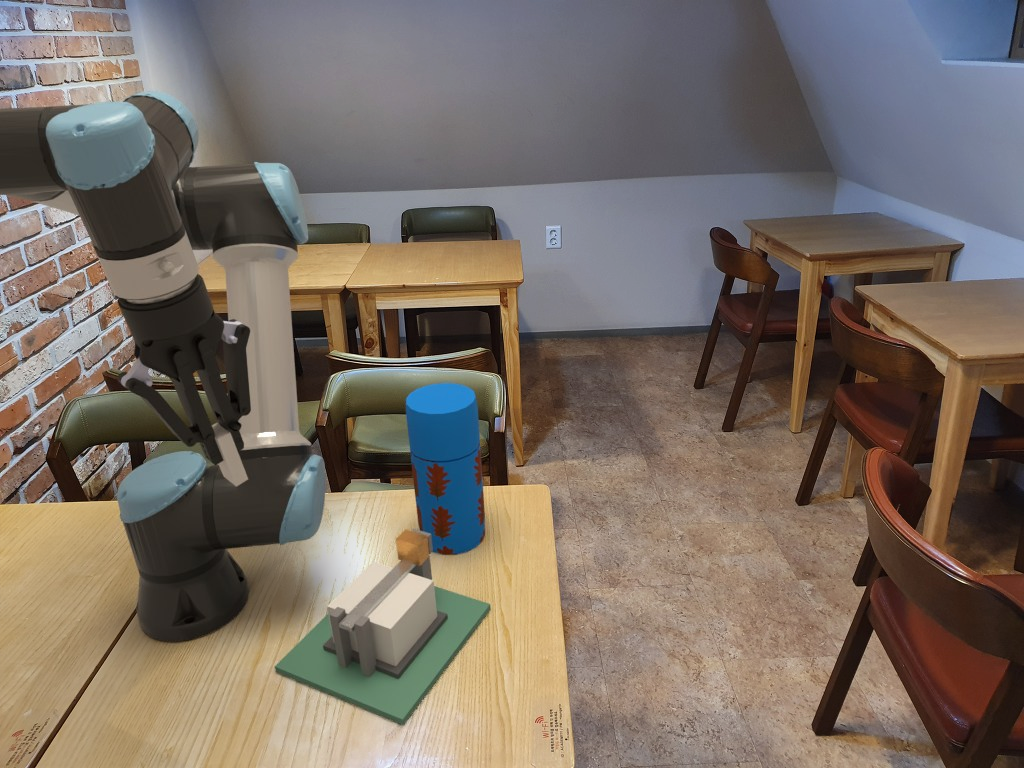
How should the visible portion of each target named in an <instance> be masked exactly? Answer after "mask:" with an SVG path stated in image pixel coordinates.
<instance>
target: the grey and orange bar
mask: <svg viewBox="0 0 1024 768" xmlns="http://www.w3.org/2000/svg"><path fill="white" fill-rule="evenodd" d="M395 542H396V545H395V546H396V553H397V558H398V560H399V562H398V563H397V564H396V565H395V566H394V567H392V568H393V569H392V570H391V571H390V572H389V573H388V574H387V575H386V576H385V577H384V578H383V579H382V580H381V581H380V582H379V583H378V584H377V585H376V586H375V587H374V588H373V589H372V590H371V591H370V592H369V593H368V594H367V595H366V596H365V597H364V598H363V599H362V600H361V601H360V602H359V603H358V604H357V605H356V606H355V608H354V609H353V610H352V611H351V612H350V613H349V614H348V615H347V616H346V617H345V618H344V619H343V620H342V621H341V622H340V623H339V627H340V628H343V629H345V630H348V631H351V632H353V631H354V630H355V628H354V623H355V622H356V621H357V620H358V619H359V618H360V617H361V616H365V617H367V616H368V615H369V614H370V613H371V612H372V611H373V610H374V609H375V608H376V607H377V605H378V604H379V603H380V602H381V601H382V600H383V599H384V598H385V597H386V596H387V595H388V594H389V593H390V592H391V591H392V590H393V589H394V588H395V587H396V586H397V584H398V583H399V582H400V581H401V580H402V579H403V578H404V577H405V576H406V575H407V574H408V573H409V572H410V571H411V570H412V569H413V568H414V567H415V566H416V565H418V566H421V565H422V564H423V562H424V561H425V560H426V559H427V558H428V557H429V555H430V554H429V548H428V538H427V535H423V534H420V533H416V532H413V531H411V530H410V529H404V530H403V532H401V533H400V534H399V535H398V536H396V538H395Z"/></svg>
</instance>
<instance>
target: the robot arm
mask: <svg viewBox="0 0 1024 768" xmlns="http://www.w3.org/2000/svg"><path fill="white" fill-rule="evenodd" d="M198 144H199V128H198V124H197V123H196V120H195V117H194V116H193V113H191V111H190V110H189V108H188V107H187V106H185V104H183V102H181V101H180V100H179V99H177V98H176V97H174V96H173V95H171V94H168V93H165V92H162V91H158V90H145V91H140V92H138V93H134V94H131V95H130V96H127V97H126V98H125V99H124V100H123V101H121V100H120V101H119V100H118V101H115V100H114V101H102V102H95V103H90V104H88V103H87V104H73V105H72V104H71V105H70V104H69V105H55V106H35V107H34V106H33V107H11V108H0V196H10V197H15V198H19V199H22V200H26V201H29V202H33V203H37V204H39V205H43V206H46V207H50V208H53V209H56V210H60V211H64V212H67V213H71V214H73V215H77V216H79V217H80V220H81V221H82V224H83V226H84V229H85V231H86V233H87V234H88V237H89V238H90V241H91V243H92V246H93V250H94V252H95V253H96V256H97V259H98V261H99V263H100V265H101V268H102V270H103V272H104V275H105V278H106V280H107V282H108V284H109V286H110V289H111V291H112V292H113V295H115V296H116V297H118V298H117V305H118V306H119V309H120V312H121V314H122V316H123V318H124V321H125V323H126V326H127V327H128V329H129V332H130V334H131V336H132V338H133V341H134V349H133V355H134V358H135V359H136V360H135V362H134V363H133V364H132V365H131V367H130V368H129V370H128V371H121V372H120V373H119V374H118V375H117V382H119V384H121V386H123V387H124V388H126V389H127V390H128V391H130V392H131V393H133V394H134V395H136V396H139V397H140V398H142V400H143V401H144V403H146V405H148V407H149V408H150V409H151V411H153V412H154V414H155V415H156V417H158V418H159V419H160V420H161V421H162V423H163V424H164V425H165V426H166V427H167V429H168V430H169V431H170V433H172V434H173V435H174V437H176V438H177V439H178V440H179V441H181V442H182V443H183V444H184V445H185V446H186V447H189V448H191V447H194V446H195V445H197V444H199V445H200V447H201V448H200V449H201V450H202V452H203V455H204V456H203V455H202V454H200V453H198V452H195V451H191V450H183V451H175V452H170V453H166V454H163V455H160V456H158V457H154V458H152V459H149V460H147V461H146V462H144V463H143V464H141V465H139V466H137V467H136V468H134V469H133V470H132V471H130V472H129V473H128V474H127V475H126V476H125V477H124V478H123V479H122V481H121V482H120V484H119V486H118V487H117V491H116V498H117V504H118V508H119V513H120V514H119V518H120V521H121V522H122V524H123V527H124V530H125V533H126V536H127V540H128V543H129V546H130V548H131V551H132V555H133V558H134V561H135V565H136V567H137V570H138V574H139V582H138V591H137V592H138V593H137V594H138V595H137V596H138V597H137V603H136V615H137V618H138V621H139V625H140V628H141V629H143V630H142V631H143V632H144V633H145V634H146V635H147V636H149V637H150V638H152V639H155V640H158V641H162V642H184V641H190V640H195V639H197V638H201V637H204V636H207V635H209V634H212V633H214V632H216V631H218V630H219V629H221V628H223V627H225V626H226V625H227V624H229V623H230V622H232V621H233V620H234V619H235V618H236V617H237V616H238V615H239V614H240V613H241V612H242V610H243V609H244V608H245V606H246V604H247V602H248V600H249V596H250V588H249V584H248V579H247V575H246V574H245V572H244V570H243V569H242V568H241V566H240V565H239V564H238V562H237V561H236V559H234V557H233V556H232V554H231V553H230V551H229V549H230V550H231V549H240V548H249V547H260V546H268V545H280V546H281V545H286V544H288V543H294V542H301V541H306V540H310V539H311V538H313V537H314V536H315V535H316V534H317V532H318V531H319V529H320V526H321V522H322V518H323V515H324V507H325V501H326V485H327V484H326V483H327V481H326V480H327V479H326V476H327V475H326V472H325V471H326V469H325V467H326V465H325V460H324V458H323V457H322V456H321V455H318V454H315V453H314V454H313V452H312V451H313V448H312V443H311V442H310V441H309V440H308V439H307V438H306V437H304V436H303V435H302V434H301V432H300V423H299V411H298V409H299V408H298V407H299V406H298V395H297V380H296V366H295V365H296V364H295V352H294V338H293V337H294V336H293V324H292V323H293V321H292V308H291V307H292V306H291V294H290V293H291V292H290V277H289V268H290V266H292V264H293V263H294V262H296V260H297V259H298V256H299V252H298V251H299V250H298V245H299V246H300V245H303V244H305V243H307V242H308V240H309V234H308V233H309V228H308V223H307V222H308V221H307V217H306V213H305V209H304V204H303V201H302V197H301V194H300V191H299V187H298V184H297V181H296V179H295V176H294V174H293V172H292V171H291V169H290V168H289V167H288V166H286V165H285V164H283V163H280V162H257V161H254V162H253V163H241V164H240V163H239V164H237V163H236V164H225V165H224V164H223V165H221V164H220V165H208V166H207V165H205V166H191V165H192V163H193V161H194V158H195V152H196V150H197V148H198ZM202 250H203V251H206V250H207V251H208V250H209V251H210V250H212V259H213V260H214V261H215V262H216V263H217V264H219V265H220V266H221V267H222V268H223V269H224V272H225V285H226V286H225V288H226V303H227V320H228V321H227V320H224V319H223V318H222V317H221V316H219V314H217V313H216V312H215V310H214V306H213V302H212V300H211V297H210V294H209V292H208V289H207V285H206V283H205V280H204V278H203V276H202V275H201V274H200V273H199V269H200V266H199V265H198V261H197V258H196V256H195V253H194V251H202ZM221 340H222V341H223V343H222V348H223V359H224V360H223V361H224V371H225V379H226V380H225V381H226V387H225V385H224V382H223V380H222V377H221V374H220V372H221V369H220V367H219V364H218V361H217V359H216V357H217V353H218V350H219V346H220V344H221ZM149 370H152V371H155V372H156V373H159V374H162V375H163V376H166V377H167V378H169V380H170V381H171V382H172V384H173V387H174V390H175V392H176V394H177V397H178V400H179V402H180V403H181V406H182V409H183V411H184V414H185V416H186V418H187V420H188V423H189V425H190V426H189V427H188V425H187V424H186V423H185V422H184V421H183V420H182V418H181V416H179V415H178V413H177V412H176V411H175V409H173V408H172V407H171V405H170V404H169V403H168V402H167V401H166V399H165V398H164V397H163V396H162V395H161V393H159V392H158V391H157V389H155V388H154V387H152V385H153V383H154V382H153V377H152V375H150V373H149ZM195 373H197V376H198V379H199V380H200V384H201V385H202V387H203V391H204V394H205V396H206V398H207V400H208V404H209V405H210V408H211V411H212V413H213V415H214V418H215V420H216V421H217V422H216V423H214V424H211V420H210V418H209V416H208V412H207V411H206V408H205V405H204V402H203V401H202V398H201V395H200V393H199V390H198V388H197V386H196V385H197V381H196V379H195V376H194V374H195ZM204 457H205V458H206V459H205V458H204ZM207 460H208V461H209V462H210V463H212V465H208V464H207Z"/></svg>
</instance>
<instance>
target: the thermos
mask: <svg viewBox="0 0 1024 768" xmlns="http://www.w3.org/2000/svg"><path fill="white" fill-rule="evenodd" d="M475 393H476V392H475V391H474V389H472V388H470V386H466V385H463V384H460V383H452V382H451V383H450V382H444V383H441V382H439V383H435V384H434V383H433V384H427V385H425V386H422V387H419V388H416V389H415V390H414V391H412V392H410V393H409V394H408V396H407V397H406V398H405V416H406V425H407V433H408V442H409V443H408V445H409V452H410V461H411V472H412V480H413V488H414V497H415V499H414V500H415V504H416V515H417V523H418V528H419V529H418V530H420V531H423V532H427V533H430V534H431V537H432V546H433V552H432V553H434V554H438V555H443V556H444V555H445V556H449V555H453V556H455V555H460V554H464V553H468V552H469V551H472V550H473V549H476V548H477V547H478V546H479V545H480V544H481V543H482V542H483V540H484V538H485V534H486V511H485V496H484V494H485V493H484V481H483V466H482V465H483V464H482V451H481V438H480V423H479V421H480V419H479V408H478V407H479V406H478V403H477V398H476V397H477V396H476V394H475Z"/></svg>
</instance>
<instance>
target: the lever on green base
mask: <svg viewBox="0 0 1024 768" xmlns="http://www.w3.org/2000/svg"><path fill="white" fill-rule="evenodd" d="M410 531H413V532H416V533H420V534H423V535H427V538H428V548H429V557H428V558H427V559H426V560H425V561H424V562H423V564H422V565H421V566H418V565H416V566H415V567H414V568H413V569H412V570H411V571H410V572H409V573H408V574H407V575H406V576H405V577H404V578H403V579H402V580H401V581H400V582H399V583H398V584H397V586H396V587H395V588H394V589H393V590H392V591H391V592H390V593H389V594H388V595H387V596H386V597H385V598H384V599H383V600H382V601H381V602H380V603H379V604H378V605H377V607H376V608H375V609H374V610H373V611H372V612H371V613H370V614H369V615H368V616H367V617H365V616H361V617H360V618H359V619H358V620H357V621H356V622H355V623H354V628H355V630H354V631H353V632H351V631H348V630H345V629H343V628H340V627H339V623H340V622H341V621H342V620H343V619H344V618H345V617H346V616H347V615H348V614H349V613H350V612H351V611H352V610H353V609H354V608H355V606H356V605H357V604H358V603H359V602H360V601H361V600H362V599H363V598H364V597H365V596H366V595H367V594H368V593H369V592H370V591H371V590H372V589H373V588H374V587H375V586H376V585H377V584H378V583H379V582H380V581H381V580H382V579H383V578H384V577H385V576H386V575H387V574H388V573H389V572H390V571H391V570H392V569H393V568H394V567H393V566H388V565H385V564H382V563H379V562H375V561H372V562H371V563H370V564H368V566H367V567H366V568H364V570H362V571H361V573H359V574H358V576H356V577H355V578H354V579H353V580H352V581H351V582H350V583H349V585H347V586H346V587H345V588H344V589H343V590H342V591H341V592H340V593H339V594H338V595H337V596H336V597H335V598H334V599H333V600H332V601H331V602H329V604H327V606H326V609H327V614H326V615H325V616H324V617H322V619H321V620H320V621H319V622H318V623H317V624H316V625H314V627H313V628H312V629H310V631H309V632H308V633H306V634H305V636H304V637H303V638H301V640H299V642H298V643H297V644H295V646H293V648H292V649H291V650H289V652H287V653H286V654H285V656H283V658H282V659H281V660H279V662H277V663H276V665H274V669H275V673H277V674H280V675H282V676H284V677H287V678H289V679H291V680H294V681H296V682H298V683H301V684H304V685H305V686H308V687H311V688H313V689H315V690H318V691H320V692H323V693H324V694H327V695H330V696H332V697H334V698H337V699H339V700H342V701H344V702H345V703H346V702H347V703H348V704H351V705H353V706H356V707H358V708H360V709H363V710H366V711H368V712H370V713H372V714H375V715H377V716H380V717H382V718H384V719H387V720H389V721H392V722H395V724H398V725H400V726H401V725H402V726H405V724H406V723H407V721H408V720H409V719H410V717H412V715H413V713H414V712H415V711H416V709H417V708H418V707H419V705H420V704H421V702H423V700H424V699H425V697H426V696H427V695H428V693H429V692H430V690H432V688H433V687H434V685H435V684H436V683H437V682H438V680H439V679H440V677H441V676H442V675H443V673H444V672H445V671H446V669H447V668H448V667H449V665H450V664H451V663H452V662H453V660H454V659H455V658H456V656H457V655H458V654H459V652H460V651H461V650H462V648H463V647H464V646H465V644H466V643H467V641H468V640H469V639H470V638H471V637H472V635H473V634H474V633H475V631H476V630H477V628H478V627H479V626H480V625H481V623H482V621H483V620H484V619H485V617H486V616H487V615H488V614H489V612H490V611H491V609H492V607H491V603H489V602H486V601H482V600H479V599H475V598H472V597H470V596H467V595H464V594H460V593H458V592H454V591H450V590H448V589H444V588H442V587H438V586H435V581H434V580H433V576H432V573H433V572H432V565H431V556H430V555H431V554H432V553H434V552H433V546H432V537H431V534H430V533H427V532H423V531H420V530H419V529H416V528H413V529H411V530H410Z"/></svg>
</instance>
